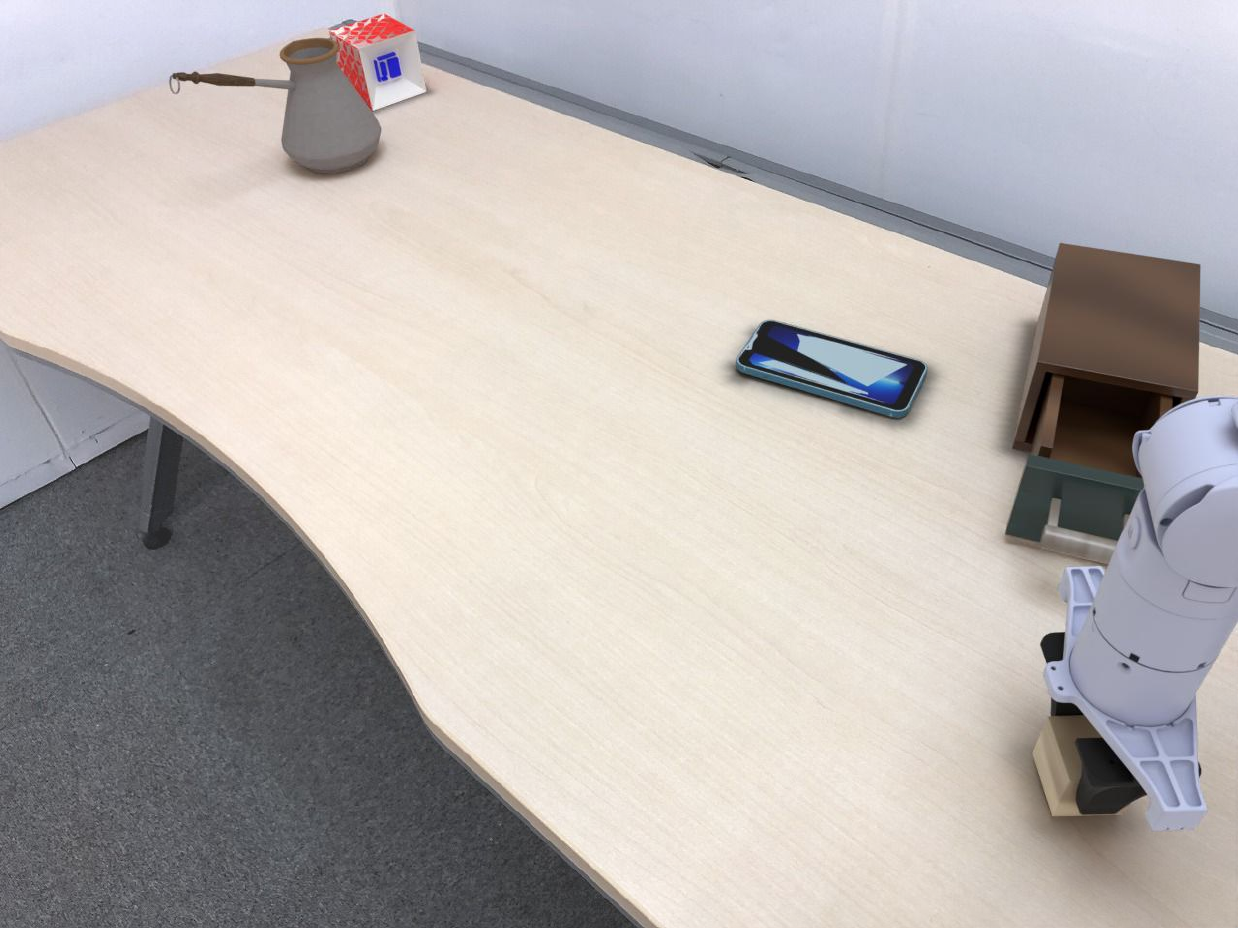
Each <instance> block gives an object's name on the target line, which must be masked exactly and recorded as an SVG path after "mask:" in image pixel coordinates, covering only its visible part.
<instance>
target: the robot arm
mask: <svg viewBox="0 0 1238 928" xmlns="http://www.w3.org/2000/svg"><path fill="white" fill-rule="evenodd" d="M1132 451H1133V456H1134V461H1135V464H1136V467H1137V469H1138V471H1139V473H1140V474H1141V475H1142V478H1143V482H1144V488H1143V490H1142V491H1141V492H1140V493H1139V495H1138V497H1137V500H1136V502H1135V504H1134V507H1133V509H1132V512H1131V514H1130V516H1129V519H1128V521H1127V524H1126V526H1125V528H1124V530H1123V532H1122V534H1121V536H1120V538H1119V540H1118V543H1117V545H1116V548H1115V550H1114V552H1113V555H1112V557H1111V559H1110V562H1109V564H1107V567H1106V569H1105V571H1104V568H1103V567H1102V566H1101V565H1089V566H1088V565H1085V566H1066V567H1065V568H1064V570H1063V572H1062V575H1061V578H1060V581H1059V583H1058V586H1057V591H1058V595H1059V596H1060V597H1059V598H1060V599H1061V600H1062V602H1063V603H1065V604H1066V616H1065V627H1064V631H1055V632H1049V633H1047V634H1045V635H1044V636H1042V639H1041V641H1040V643H1039V646H1040V649H1041V652H1042V655H1043V658H1044V660H1045V663H1046V665H1045V666H1044V669H1043V671H1042V677H1043V681H1044V682H1045V686H1046V688H1047V692H1048V695H1049V696H1050V716H1072V715H1085V716H1086V718H1087V719H1088V720H1089V721H1090V722H1091V724H1092V725H1093V726H1094V727H1095V729H1096V730H1097V731H1098V732H1099V734H1100V735H1101V736H1102V737H1103V738H1077V739H1076V741H1075V745H1076V748H1077V751H1078V753H1079V756H1080V759H1081V762H1082V772H1081V778H1080V781H1079V784H1078V787H1077V792H1076V804H1077V807H1078V810H1079V813H1080V814H1082V816H1095V815H1094V814H1116V813H1117V812H1119V811H1120V810H1121V809H1123V808H1124V807H1126V806H1127V805H1129V804H1130V803H1131V804H1132V803H1133V802H1135V801H1137V800H1140V799H1142V798H1143V797H1145V796H1147V797H1148V799H1149V804H1148V806H1147V807H1146V809H1145V812H1144V815H1145V818H1146V820H1147V822H1148V823H1147V824H1148V825H1149V829H1150V830H1151V831H1152V832H1164V831H1165V832H1179V831H1180V832H1181V831H1194V830H1196V828H1197V827H1198V825H1200V823H1201V821H1202V820H1203V818H1204V817H1205V815H1206V814H1207V813H1208V811H1209V809H1208V806H1207V803H1206V800H1205V797H1204V794H1203V792H1202V788H1201V787H1202V786H1201V783H1200V782H1201V781H1200V778H1201V777H1202V776H1201V775H1202V767H1201V763H1200V760H1199V743H1198V741H1199V740H1198V739H1199V738H1198V715H1197V714H1198V713H1197V693H1198V691H1199V690H1200V687H1201V686H1202V685H1203V683H1204V681H1205V679H1206V677H1207V675H1208V674H1209V672H1210V670H1211V669H1212V668H1213V666H1214V664H1215V662H1216V660H1217V659H1218V657H1219V656H1220V655H1221V654H1220V653H1221V652H1222V650H1223V648H1224V647H1225V645H1226V643H1227V642H1228V639H1230V636H1231V634H1232V633H1233V631H1234V629H1235V628H1236V627H1237V625H1238V396H1234V395H1225V394H1224V395H1221V394H1220V395H1219V394H1218V395H1207V396H1201V397H1196V398H1195V399H1193V400H1190V401H1187V402H1184V403H1182V404H1180V405H1178V406H1176V407H1174V408H1172V409H1171V410H1169V411H1168V412H1167V413H1165V414H1164V415H1163V416H1162V417H1161V418H1160V419H1159V420H1158V421H1157V422H1156V423H1155V425H1154V426H1153V427H1152V428H1151V429H1150V430H1147V431H1138V432H1136V433H1135V435H1134V439H1133V445H1132ZM1131 804H1130V805H1131ZM1130 805H1129V806H1130Z"/></svg>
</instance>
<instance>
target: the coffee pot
mask: <svg viewBox="0 0 1238 928" xmlns="http://www.w3.org/2000/svg"><path fill="white" fill-rule="evenodd" d="M338 50H339V45H338V43H337V42H336V41H334V40H331V38H327V37H311V38H302V39H295V40H293V41H292V42H289V43H288V44H286V45H285V46H284V47H283V48H282V49H280V50H279V58H280V59H281V61H283V62H284V63H285V64H286V66H287V67H288V69H289V71H290V74H289V80H287V79H268V78H265V79H264V78H255V77H248V76H241V75H234V74H227V73H220V72H219V73H218V72H215V73H199V72H198V71H196V70H195V71H193V72H192V73H187V72H184V71H181V72H173V73H172V74H171V75H170V76H169V79H168V84H169V88H170V91H171V93H172V94H174V95H178V94H179V93H180V90H181V82H187V81H188V82H192V83H193V84H194V85H199V84H200V83H204V84H209V85H213V86H217V87H249V88H250V87H260V88H261V87H262V88H270V89H271V88H272V89H280V90H287V95H286V102H285V110H284V117H283V124H282V133H281V139H280V140H281V141H280V142H281V147H282V149H283V151H284V152H285V154H286V155H288V157H289V158H290V159H291V160H292V161H293V162H295V163H297V164H298V165H300V166H303V167H305V168H306V169H308V171H312V172H314V173H318V174H329V175H330V174H339V173H343V172H347V171H351V170H354V169H356V168H358V167H360V166H362V165H364V164H365V163H366V162H367V161H368V160H369V159H370V157H371V155H372V154H373V153H374V152H375V150H376V148H377V147H378V145H379V144H380V139H381V135H382V130H383V129H382V126H381V123H380V121H379V120H378V118H377V117H376V116H375V114H374V112H373V111H372V110H370V108H369V107H368V106H367V104H366V103H365V102H364V100H363V99H362V97H361V96H360V95H359V93H358V92H357V91H356V89H355V88H354V86H353V85H352V84H351V82H350V81H349V80H348V78H347V77H346V75H345V74H344V73H343V71H342V70H341V69H340V67H339V66H338V64H337V56H336V53H337V52H338ZM172 79H173V80H176V82H177V90H176V92H175V91H174V89H173V85H172V81H173V80H172Z"/></svg>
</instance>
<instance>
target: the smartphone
mask: <svg viewBox="0 0 1238 928" xmlns="http://www.w3.org/2000/svg"><path fill="white" fill-rule="evenodd" d="M740 350H741V351H740V352H739V353H738V355H737V356H736V359H735V367H736V369H737V370H738V371H739V372H740V373H743V374H746V375H748V376H749V375H750V376H752V377H757V378H759V379H763V380H766V381H770V382H773V383H775V384H779V385H783V386H786V387H790V388H793V389H797V390H800V391H802V392H805V393H809V394H813V395H817V396H821V397H824V398H827V399H830V400H833V401H837V402H840V403H844V404H847V405H850V406H854V407H857V408H859V409H860V408H861V409H864V410H867V411H870V412H874V413H877V414H882V415H883V416H887V417H890V418H904V417H905V416H907V415H908V413H909V412H910V410H911V407H912V405H913V403H914V401H915V399H916V397H917V395H918V393H919V391H920V389H921V387H922V385H923V383H924V380H925V378H926V377H927V375H928V374H927V373H928V370H929V368H928V365H927V364H926V363H925V361H923V360H921V359H918V358H914V357H911V356H907V355H903V354H900V353H896V352H892V351H889V350H885V349H882V348H878V347H874V346H871V345H867V344H863V343H860V342H856V341H854V340H849V339H845V338H842V337H838V336H834V335H830V334H827V333H823V332H820V331H816V330H813V329H809V328H805V327H802V326H798V325H795V324H790V323H787V322H784V321H780V320H776V319H765V320H762V321H761V322H760V323H759V324H758V326H757V327H756V329H755V330H754V332H753V333H752V335H751V336H750V337H749V339H748V340H747V341H746V343H745V345H744V346H743V347H742V349H740Z"/></svg>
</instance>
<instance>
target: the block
mask: <svg viewBox="0 0 1238 928" xmlns="http://www.w3.org/2000/svg"><path fill="white" fill-rule="evenodd" d="M1077 738H1103V737H1102V736H1101V735H1100V734H1099V732H1098V731H1097V730H1096V729H1095V727H1094V726H1093V725H1092V724H1091V722H1090V721H1089V720H1088V719H1087V718H1086V716H1085V715H1072V716H1051V715H1048V716H1047V717H1046V720H1045V721H1044V724H1043V726H1042V729H1041V731H1040V734H1039V736H1038V738H1037V740H1036V743H1035V745H1034V747H1033V750H1032V753H1031V754H1032V757H1033V760H1034V763H1035V767H1036V771H1037V773H1038V776H1039V779H1040V782H1041V787H1042V789H1043V791H1044V795H1045V798H1046V802H1047V804H1048V807H1049V810H1050V813H1051V816H1052V817H1074V816H1075V817H1077V816H1078V817H1079V816H1080V817H1081V816H1083V815H1082V814H1080V813H1079V810H1078V807H1077V804H1076V792H1077V787H1078V784H1079V781H1080V778H1081V772H1082V762H1081V759H1080V756H1079V753H1078V751H1077V748H1076V745H1075V741H1076V739H1077ZM1131 804H1132V803H1130V804H1129V805H1127V806H1126V807H1124V808H1123V809H1121V810H1120V811H1119V812H1117V813H1116V814H1094V815H1093V816H1114V815H1115V816H1119V815H1120V816H1121V815H1125V814H1126V812H1127V810H1128V808H1129V807H1130V805H1131Z"/></svg>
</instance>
